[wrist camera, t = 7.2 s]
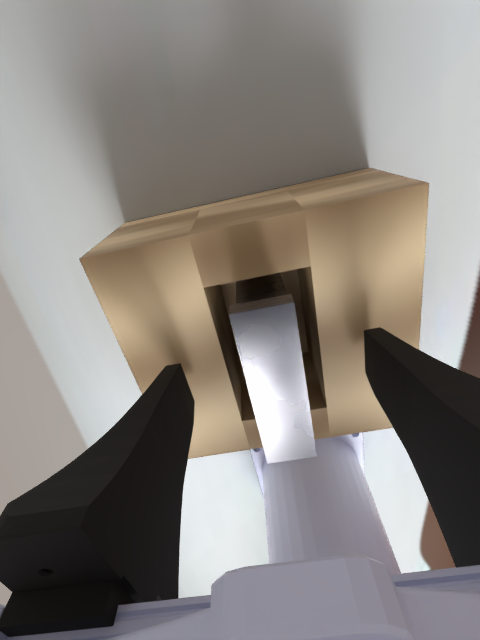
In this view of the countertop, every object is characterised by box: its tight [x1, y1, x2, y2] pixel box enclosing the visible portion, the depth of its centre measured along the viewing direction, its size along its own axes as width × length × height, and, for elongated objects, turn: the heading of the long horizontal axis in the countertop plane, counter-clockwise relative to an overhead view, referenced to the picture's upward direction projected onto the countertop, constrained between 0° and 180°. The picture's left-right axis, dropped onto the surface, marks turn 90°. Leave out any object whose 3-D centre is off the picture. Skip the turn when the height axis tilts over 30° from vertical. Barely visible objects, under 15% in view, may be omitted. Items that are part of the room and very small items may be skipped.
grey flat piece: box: [229, 273, 317, 464], centre depth 15 cm, size 7×2×7 cm, turn 12°
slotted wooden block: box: [79, 168, 429, 459], centre depth 16 cm, size 11×12×6 cm
